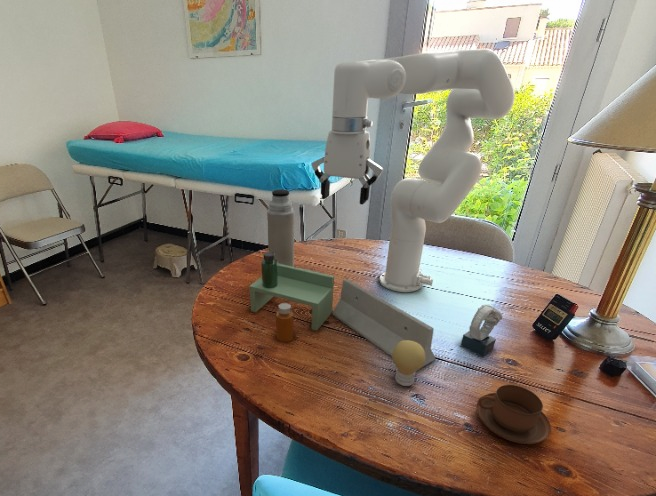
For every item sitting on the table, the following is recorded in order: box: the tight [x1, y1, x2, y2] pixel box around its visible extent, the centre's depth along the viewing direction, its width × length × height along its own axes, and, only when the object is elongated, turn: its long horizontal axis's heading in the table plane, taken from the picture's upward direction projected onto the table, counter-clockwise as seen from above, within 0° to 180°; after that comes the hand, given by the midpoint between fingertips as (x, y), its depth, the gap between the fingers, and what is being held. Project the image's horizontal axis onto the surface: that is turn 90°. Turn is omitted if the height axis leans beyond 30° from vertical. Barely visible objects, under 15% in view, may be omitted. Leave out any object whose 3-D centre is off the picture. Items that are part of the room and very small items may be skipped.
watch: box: [460, 304, 503, 358], centre depth 93 cm, size 6×8×11 cm
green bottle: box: [260, 251, 278, 288], centre depth 106 cm, size 4×4×9 cm
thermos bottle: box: [266, 189, 295, 267], centre depth 122 cm, size 8×8×28 cm
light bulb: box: [391, 340, 425, 387], centre depth 83 cm, size 6×6×10 cm
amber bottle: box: [275, 302, 294, 343], centre depth 98 cm, size 4×4×9 cm
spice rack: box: [249, 263, 335, 331], centre depth 108 cm, size 20×10×11 cm, turn 60°
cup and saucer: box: [476, 384, 552, 445], centre depth 74 cm, size 12×12×6 cm
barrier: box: [331, 278, 436, 368], centre depth 98 cm, size 28×7×10 cm, turn 32°
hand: (343, 200), depth 98 cm, fingers open, 9 cm apart
